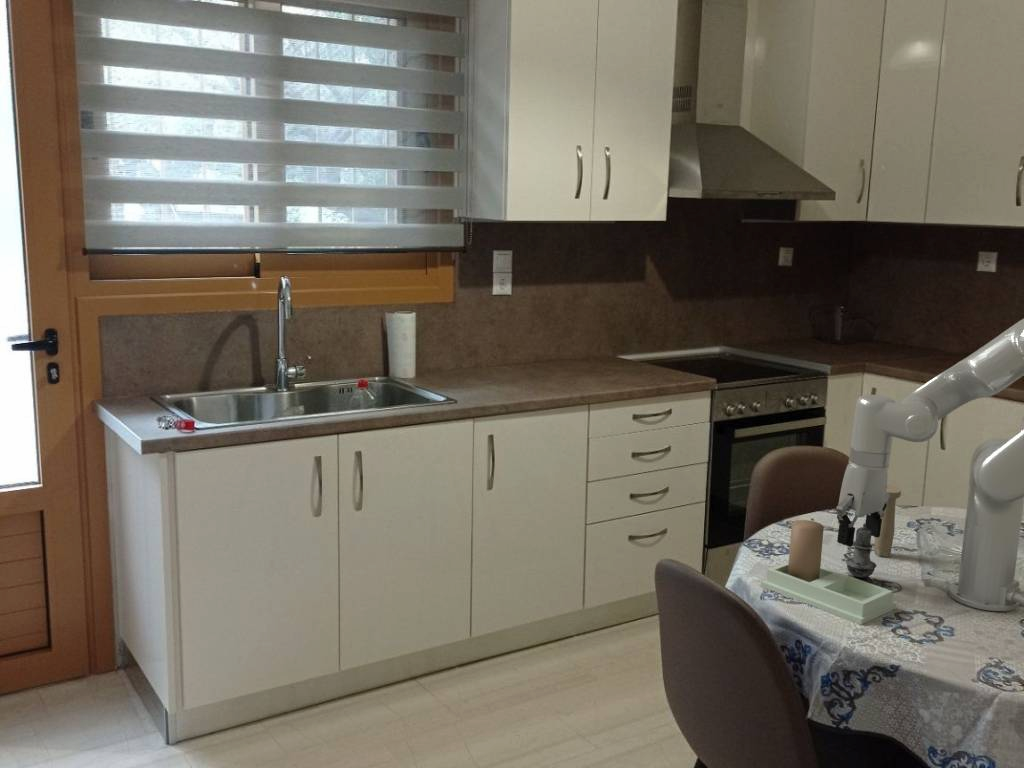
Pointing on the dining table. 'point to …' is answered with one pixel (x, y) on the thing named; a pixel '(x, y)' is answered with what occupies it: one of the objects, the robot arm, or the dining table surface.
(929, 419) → the robot arm
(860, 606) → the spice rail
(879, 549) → the handle
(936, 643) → the dining table surface
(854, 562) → the salt shaker
